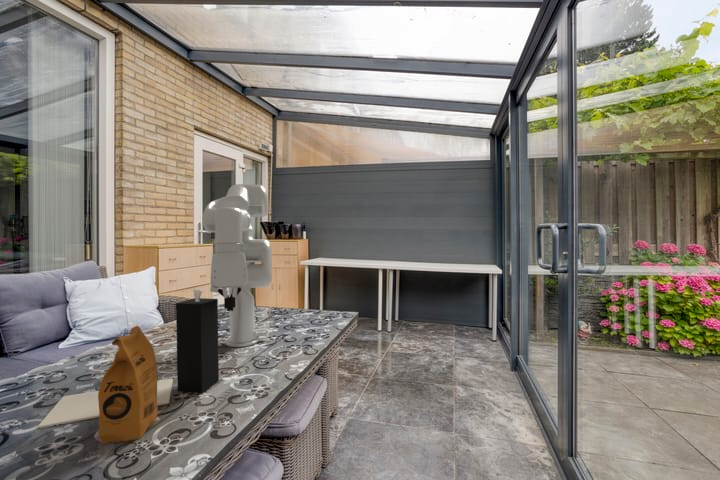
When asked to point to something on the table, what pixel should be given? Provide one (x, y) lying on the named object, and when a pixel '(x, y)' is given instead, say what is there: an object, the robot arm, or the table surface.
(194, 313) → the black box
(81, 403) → the mat
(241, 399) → the table surface
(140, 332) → the coffee package
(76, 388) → the table surface
